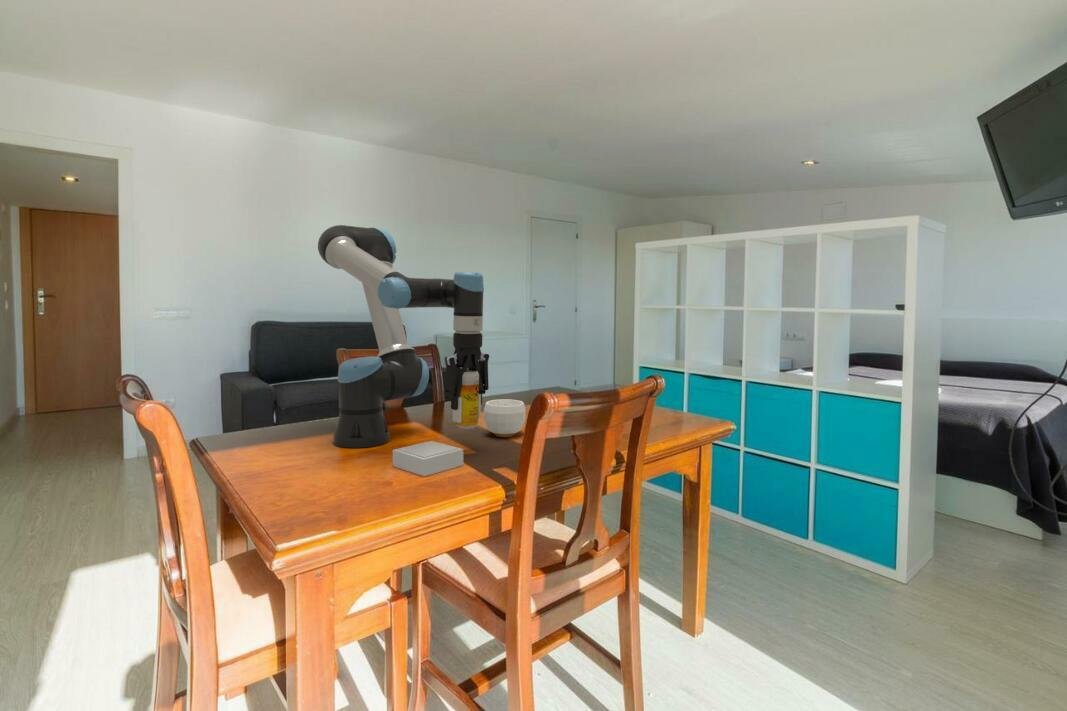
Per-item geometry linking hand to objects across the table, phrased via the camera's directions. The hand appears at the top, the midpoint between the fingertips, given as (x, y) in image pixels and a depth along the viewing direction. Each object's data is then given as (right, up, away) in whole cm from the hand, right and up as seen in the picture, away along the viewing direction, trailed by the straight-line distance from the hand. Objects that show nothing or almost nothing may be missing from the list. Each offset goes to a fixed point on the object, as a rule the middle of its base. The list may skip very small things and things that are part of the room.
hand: (466, 419), depth 153 cm
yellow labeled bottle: (0, -2, 0) cm, 2 cm away
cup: (+9, -7, +19) cm, 22 cm away
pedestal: (-8, -10, -12) cm, 18 cm away
